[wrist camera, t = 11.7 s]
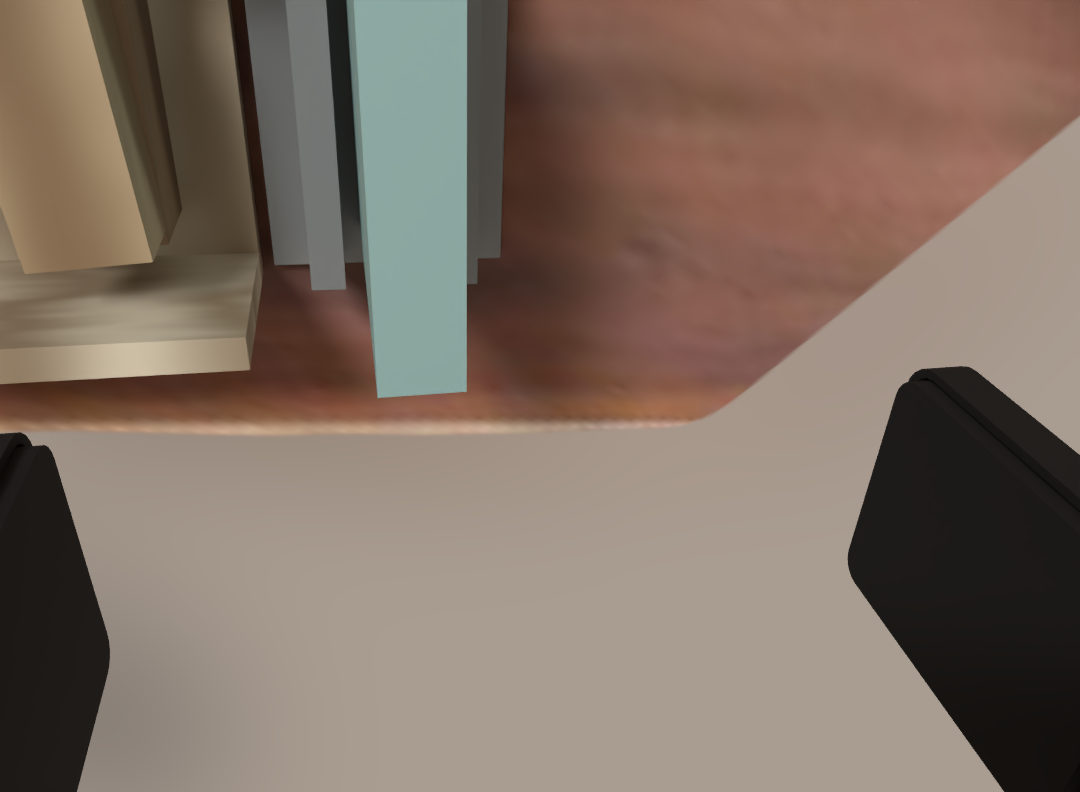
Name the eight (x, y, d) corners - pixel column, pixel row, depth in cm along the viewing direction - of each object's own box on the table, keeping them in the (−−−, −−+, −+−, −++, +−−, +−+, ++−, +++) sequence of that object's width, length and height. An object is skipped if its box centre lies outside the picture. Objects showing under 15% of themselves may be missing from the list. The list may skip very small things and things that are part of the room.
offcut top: (98, -43, 25) (73, -30, 22) (167, 227, 29) (153, 262, 26) (-41, -37, 24) (-82, -24, 22) (51, 236, 28) (25, 274, 26)
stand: (510, -174, 29) (535, -176, 25) (497, 252, 37) (516, 294, 33) (224, -193, 27) (209, -199, 24) (275, 259, 35) (270, 304, 31)
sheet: (412, -129, 29) (467, -115, 18) (421, 223, 35) (466, 391, 24) (336, -133, 28) (346, -121, 17) (360, 225, 34) (377, 397, 24)
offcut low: (129, -104, 27) (106, -98, 24) (182, 209, 32) (168, 244, 29) (-14, -110, 26) (-56, -106, 23) (63, 211, 31) (37, 248, 28)
